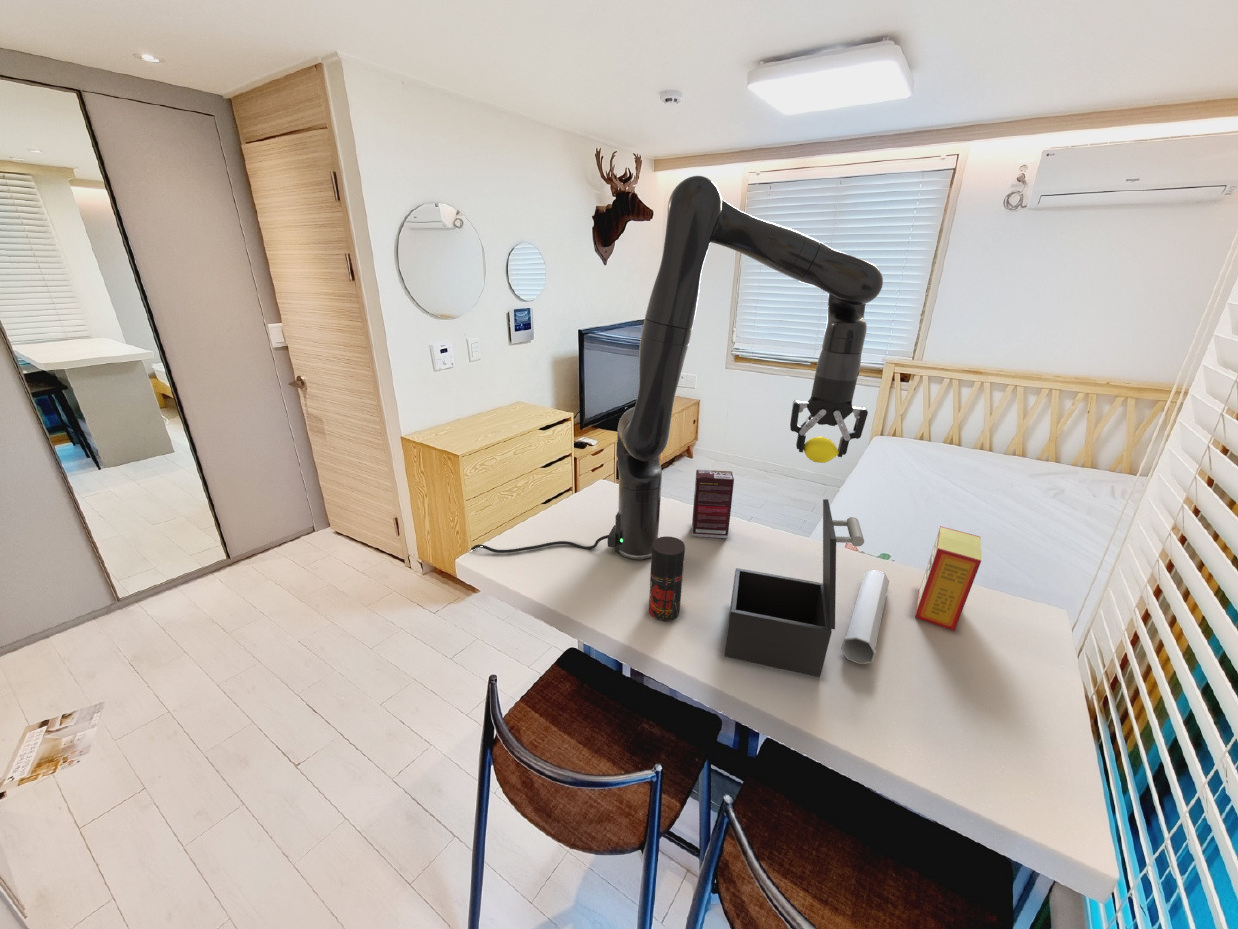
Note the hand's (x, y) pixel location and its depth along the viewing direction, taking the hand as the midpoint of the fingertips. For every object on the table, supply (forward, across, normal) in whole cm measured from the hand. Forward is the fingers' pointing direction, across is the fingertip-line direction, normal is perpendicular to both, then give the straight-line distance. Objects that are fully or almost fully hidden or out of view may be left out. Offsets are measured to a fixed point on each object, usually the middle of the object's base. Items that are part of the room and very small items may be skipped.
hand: (819, 453), depth 103 cm
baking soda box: (+26, -26, +10) cm, 38 cm away
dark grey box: (+26, +6, +28) cm, 39 cm away
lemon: (+2, 0, 0) cm, 2 cm away
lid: (+8, 0, +28) cm, 29 cm away
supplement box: (+26, +20, -5) cm, 34 cm away
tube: (+26, -12, +17) cm, 33 cm away
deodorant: (+26, +26, +26) cm, 45 cm away
